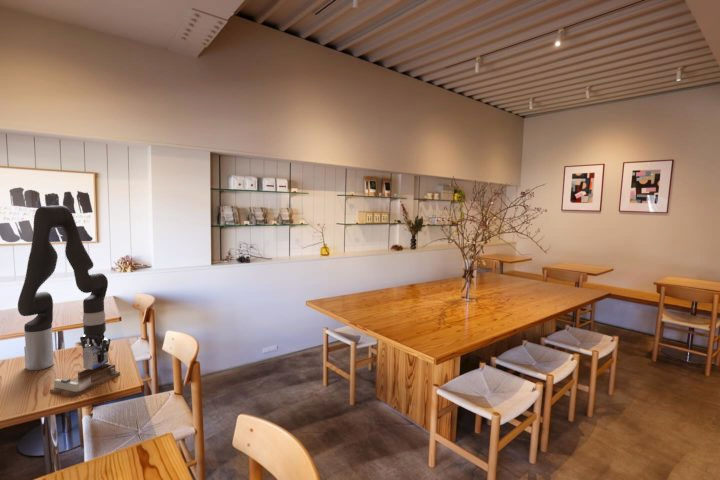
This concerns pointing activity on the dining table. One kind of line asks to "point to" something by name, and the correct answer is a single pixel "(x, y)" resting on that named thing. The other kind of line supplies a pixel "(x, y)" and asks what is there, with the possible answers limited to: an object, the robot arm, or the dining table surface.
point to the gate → (66, 384)
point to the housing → (89, 379)
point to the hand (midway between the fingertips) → (96, 361)
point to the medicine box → (92, 358)
